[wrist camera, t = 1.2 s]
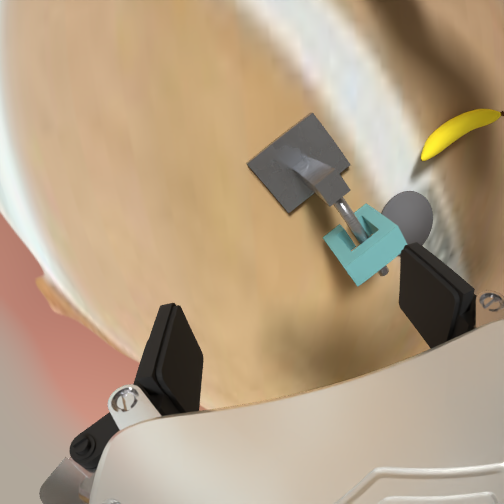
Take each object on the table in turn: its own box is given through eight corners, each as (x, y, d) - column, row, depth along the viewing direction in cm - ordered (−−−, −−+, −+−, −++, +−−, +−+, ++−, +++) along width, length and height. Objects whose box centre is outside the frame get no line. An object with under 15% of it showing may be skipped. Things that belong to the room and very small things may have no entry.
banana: (397, 145, 33) (424, 151, 27) (475, 101, 29) (502, 103, 24) (405, 163, 34) (431, 172, 28) (480, 118, 30) (507, 122, 25)
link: (366, 203, 33) (397, 225, 26) (376, 221, 34) (408, 246, 27) (322, 237, 35) (344, 268, 27) (335, 254, 36) (357, 286, 28)
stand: (310, 113, 31) (343, 108, 21) (383, 220, 37) (426, 254, 27) (246, 163, 33) (251, 179, 23) (329, 263, 40) (357, 309, 29)
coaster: (416, 177, 35) (417, 178, 34) (438, 228, 38) (440, 229, 38) (366, 218, 37) (367, 219, 37) (394, 266, 41) (395, 267, 40)
